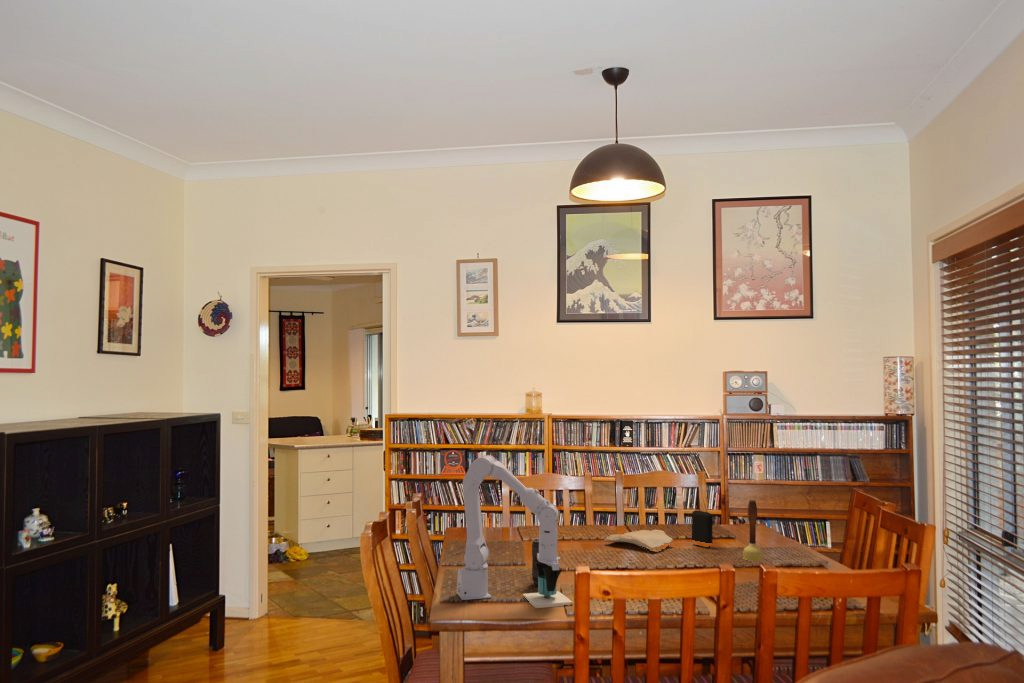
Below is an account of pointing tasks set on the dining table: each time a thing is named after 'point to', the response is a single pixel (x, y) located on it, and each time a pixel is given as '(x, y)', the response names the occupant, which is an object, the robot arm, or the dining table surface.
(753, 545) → the handbell
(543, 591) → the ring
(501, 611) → the dining table surface
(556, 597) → the white base with peg
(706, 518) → the carrying case or bag
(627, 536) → the beige curved shard
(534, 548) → the camera lens
